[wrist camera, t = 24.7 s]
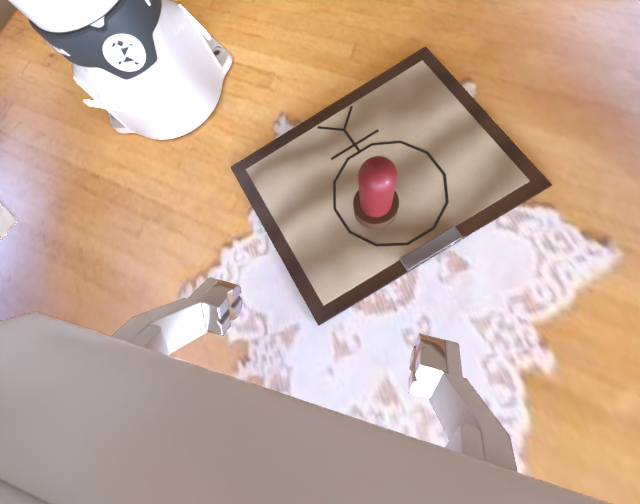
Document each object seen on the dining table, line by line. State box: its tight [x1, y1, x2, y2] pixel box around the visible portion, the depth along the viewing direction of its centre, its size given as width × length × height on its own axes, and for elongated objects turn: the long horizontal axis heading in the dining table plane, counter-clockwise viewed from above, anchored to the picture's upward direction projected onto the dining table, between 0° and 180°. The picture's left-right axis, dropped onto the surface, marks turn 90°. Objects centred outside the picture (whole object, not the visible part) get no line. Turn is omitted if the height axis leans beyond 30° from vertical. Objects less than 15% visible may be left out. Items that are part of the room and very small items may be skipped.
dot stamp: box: [353, 156, 399, 229], centre depth 28 cm, size 5×5×10 cm
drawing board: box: [231, 47, 552, 325], centre depth 34 cm, size 22×28×1 cm
